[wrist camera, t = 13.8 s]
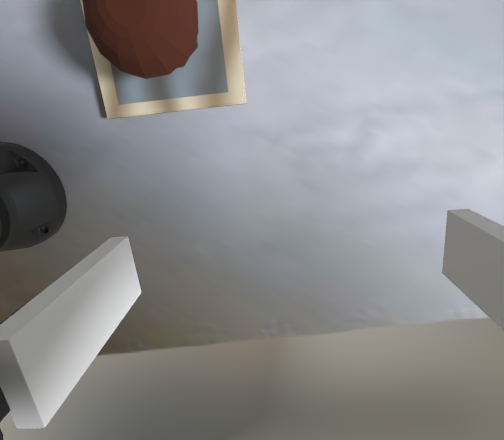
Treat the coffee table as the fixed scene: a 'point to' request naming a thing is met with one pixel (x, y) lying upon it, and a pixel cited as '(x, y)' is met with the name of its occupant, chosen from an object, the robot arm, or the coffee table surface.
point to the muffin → (143, 33)
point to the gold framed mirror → (183, 71)
